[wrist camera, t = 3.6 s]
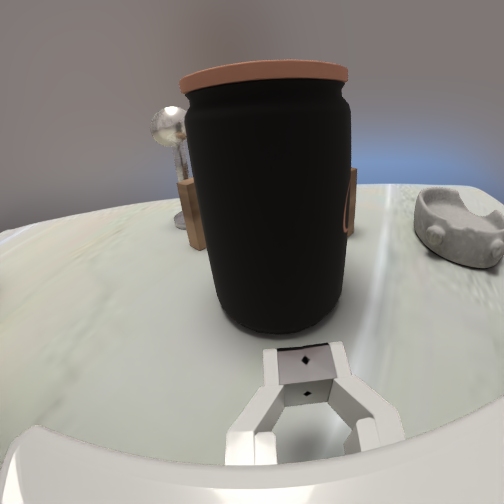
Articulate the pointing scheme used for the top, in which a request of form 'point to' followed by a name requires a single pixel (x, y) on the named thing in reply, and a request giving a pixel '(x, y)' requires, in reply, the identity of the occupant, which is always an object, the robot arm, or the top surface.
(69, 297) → the top surface
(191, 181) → the wooden l-shaped bracket
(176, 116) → the metal ball stand
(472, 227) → the dish
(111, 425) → the top surface
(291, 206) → the coffee jar
